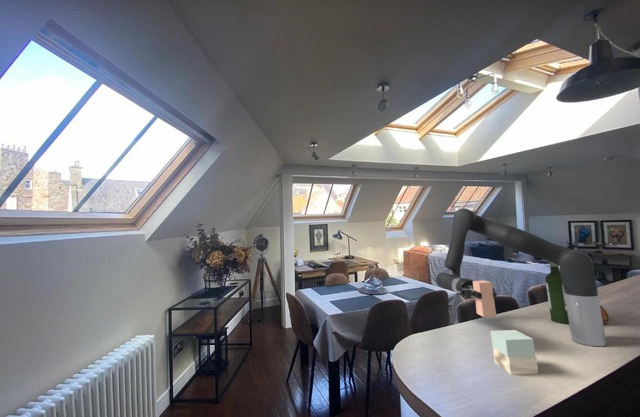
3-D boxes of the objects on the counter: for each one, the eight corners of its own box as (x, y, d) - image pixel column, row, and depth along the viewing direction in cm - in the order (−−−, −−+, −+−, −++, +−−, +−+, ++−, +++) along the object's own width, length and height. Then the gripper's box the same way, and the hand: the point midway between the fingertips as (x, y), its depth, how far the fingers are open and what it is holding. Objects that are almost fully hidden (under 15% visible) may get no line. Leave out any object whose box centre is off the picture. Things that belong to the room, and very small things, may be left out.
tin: (611, 326, 112) (607, 306, 113) (602, 326, 113) (599, 306, 114) (584, 316, 127) (581, 298, 128) (576, 316, 127) (573, 298, 128)
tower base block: (494, 362, 87) (492, 346, 88) (519, 361, 87) (517, 345, 88) (511, 375, 80) (508, 357, 80) (538, 374, 79) (536, 356, 80)
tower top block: (492, 346, 88) (490, 330, 89) (517, 345, 88) (515, 329, 88) (507, 357, 80) (505, 340, 81) (535, 356, 80) (533, 339, 80)
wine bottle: (576, 325, 116) (565, 255, 119) (553, 323, 120) (543, 255, 123) (572, 319, 122) (561, 253, 126) (549, 318, 127) (540, 254, 130)
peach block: (476, 313, 101) (472, 281, 102) (489, 313, 100) (484, 280, 102) (483, 317, 96) (479, 283, 98) (496, 316, 96) (491, 282, 97)
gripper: (446, 279, 114) (466, 286, 97) (480, 277, 114) (506, 283, 97) (448, 297, 113) (469, 307, 96) (483, 295, 113) (509, 305, 96)
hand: (487, 295), depth 96 cm, fingers closed on peach block, 4 cm apart
